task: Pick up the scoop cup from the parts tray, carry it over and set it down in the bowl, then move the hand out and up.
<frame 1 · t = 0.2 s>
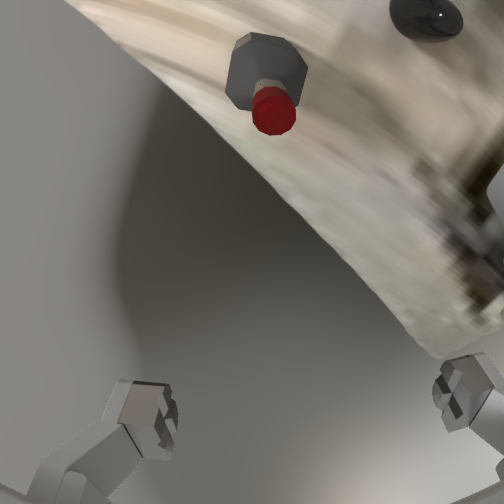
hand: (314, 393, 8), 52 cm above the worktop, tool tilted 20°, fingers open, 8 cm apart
liquor: (261, 59, 46), on the worktop
black egg-shaped dome: (406, 11, 38), on the worktop
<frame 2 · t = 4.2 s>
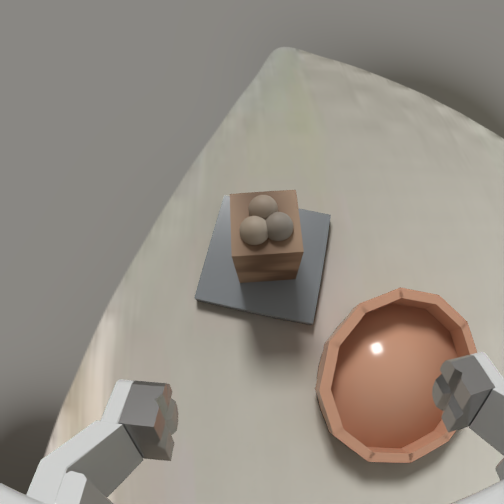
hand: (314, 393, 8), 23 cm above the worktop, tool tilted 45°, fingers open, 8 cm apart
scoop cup: (265, 254, 33), point 1 cm above the worktop, touching parts tray
bowl: (396, 377, 29), on the worktop
parts tray: (265, 258, 34), on the worktop
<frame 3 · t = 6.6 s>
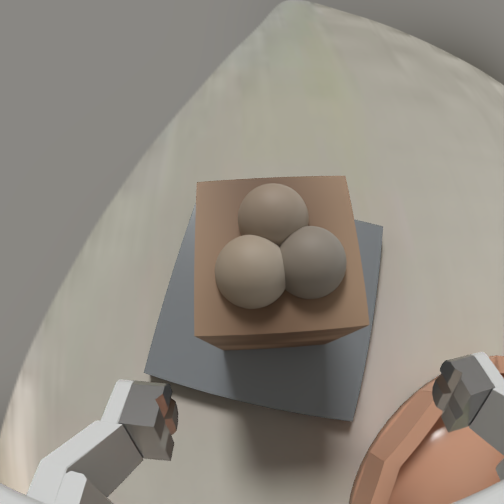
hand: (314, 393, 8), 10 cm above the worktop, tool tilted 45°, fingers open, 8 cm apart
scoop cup: (271, 298, 18), point 1 cm above the worktop, touching parts tray
bowl: (462, 478, 14), on the worktop
parts tray: (271, 302, 19), on the worktop
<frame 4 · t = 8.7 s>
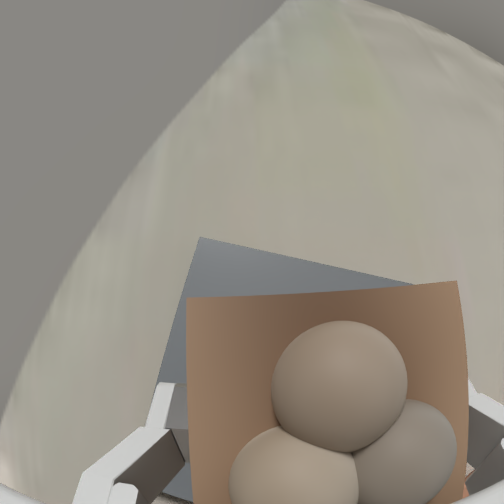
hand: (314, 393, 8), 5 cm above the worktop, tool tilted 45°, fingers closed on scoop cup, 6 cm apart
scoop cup: (299, 399, 12), point 1 cm above the worktop, touching gripper, parts tray
parts tray: (297, 397, 13), on the worktop
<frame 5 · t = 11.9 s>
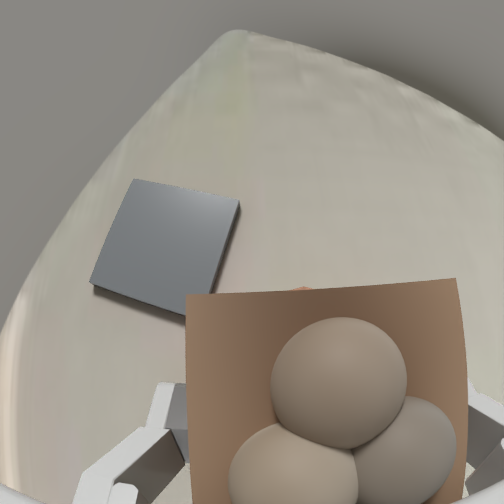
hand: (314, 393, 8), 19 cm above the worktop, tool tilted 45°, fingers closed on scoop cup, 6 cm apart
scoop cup: (298, 398, 12), point 15 cm above the worktop, touching gripper
parts tray: (164, 244, 31), on the worktop
when the fingers open (8 cm above the worktop, at t = 15.2 s): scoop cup drops 2 cm, resting on bowl.
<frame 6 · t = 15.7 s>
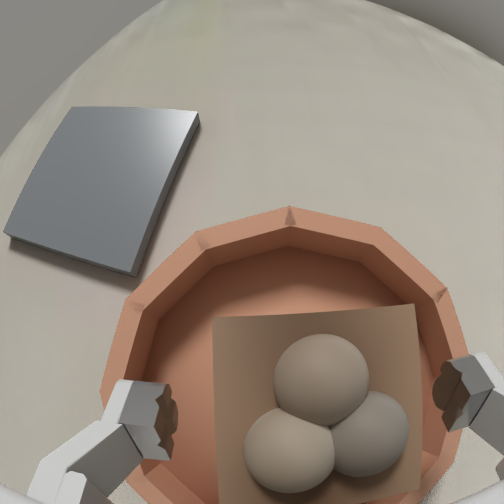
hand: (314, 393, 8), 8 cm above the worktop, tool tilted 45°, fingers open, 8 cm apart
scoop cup: (295, 394, 15), point 1 cm above the worktop, touching bowl
bowl: (291, 393, 16), on the worktop
parts tray: (96, 177, 21), on the worktop
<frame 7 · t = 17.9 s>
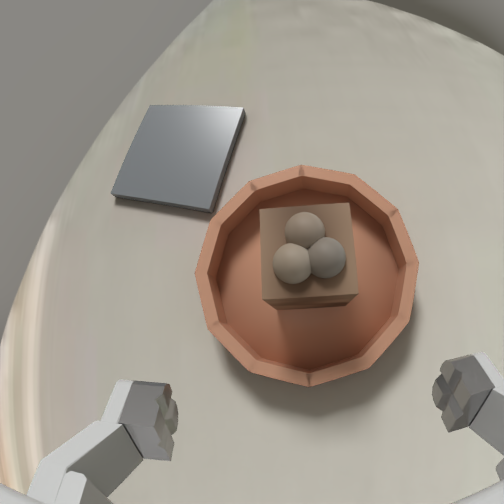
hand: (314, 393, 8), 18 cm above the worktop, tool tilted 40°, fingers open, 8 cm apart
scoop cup: (309, 274, 26), point 1 cm above the worktop, touching bowl
bowl: (308, 277, 27), on the worktop
parts tray: (178, 153, 33), on the worktop
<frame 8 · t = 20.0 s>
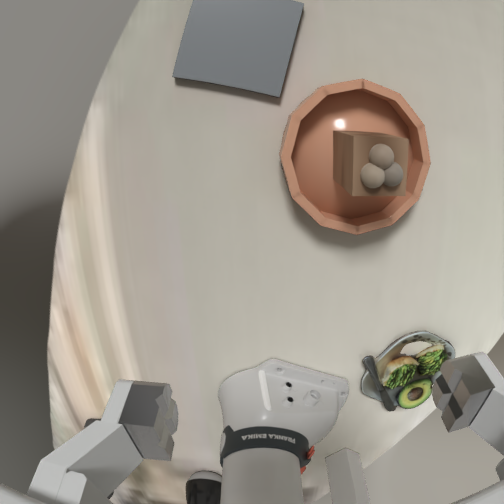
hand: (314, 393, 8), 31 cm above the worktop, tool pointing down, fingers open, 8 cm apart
salad plate: (407, 367, 51), on the worktop
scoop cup: (356, 155, 35), point 1 cm above the worktop, touching bowl
bowl: (352, 154, 36), on the worktop
parts tray: (238, 37, 30), on the worktop
milk: (342, 455, 63), on the worktop
black egg-shaped dome: (207, 474, 66), on the worktop
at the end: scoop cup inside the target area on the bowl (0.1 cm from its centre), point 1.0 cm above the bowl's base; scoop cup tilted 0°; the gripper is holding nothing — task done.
